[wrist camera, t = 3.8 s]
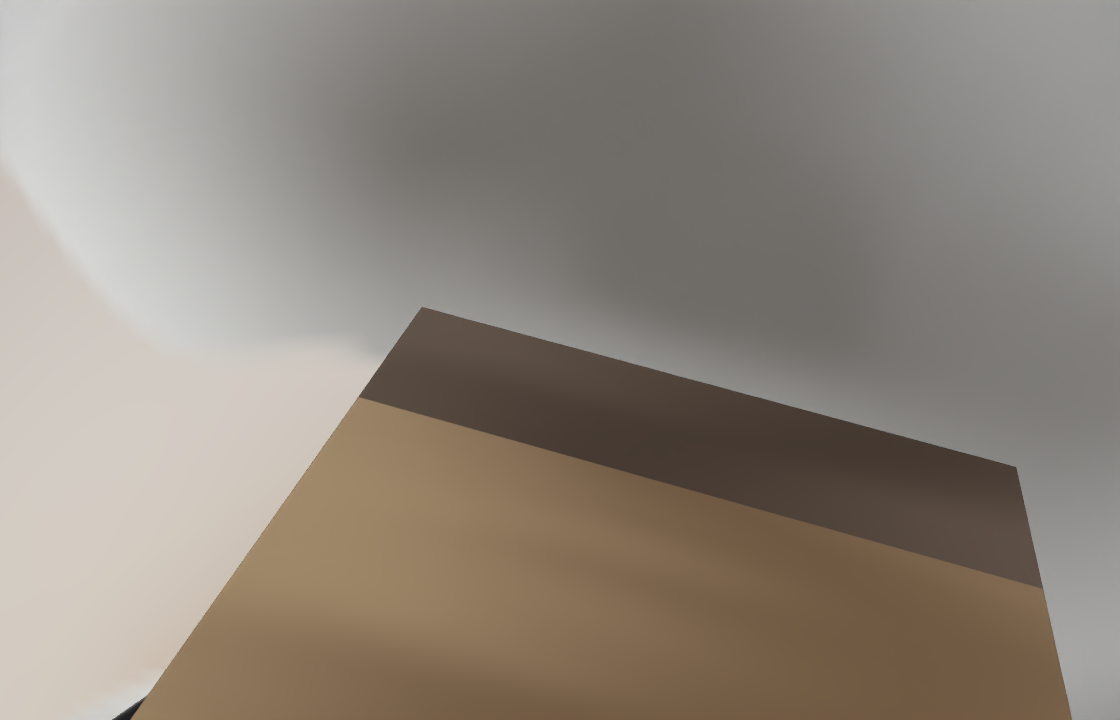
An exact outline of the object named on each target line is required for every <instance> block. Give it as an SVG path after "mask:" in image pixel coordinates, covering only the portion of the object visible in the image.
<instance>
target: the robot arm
mask: <svg viewBox="0 0 1120 720" xmlns="http://www.w3.org/2000/svg"><path fill="white" fill-rule="evenodd" d="M147 696H148V695H147ZM147 696H146V697H147ZM146 697H144V698H143V699H141V700H140V701H139V702H137V703H136V704H134V705H133V706H131V707H130V708H128V709H127V710H126V711H124V712H123V713H121V714H120V715H118V716H117V717H115V718H114V719H113V720H131V718H132V717H133V715H134V714H135V713H136V711H137V710H138V708H139V707H140V706H141V704H142V703H143V701H144V700H145V698H146Z"/></svg>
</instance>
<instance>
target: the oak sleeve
mask: <svg viewBox="0 0 1120 720" xmlns="http://www.w3.org/2000/svg"><path fill="white" fill-rule="evenodd" d="M131 720H1072V718H1071V713H1070V709H1069V704H1068V700H1067V695H1066V690H1065V686H1064V681H1063V677H1062V672H1061V668H1060V663H1059V659H1058V654H1057V650H1056V645H1055V641H1054V636H1053V632H1052V627H1051V623H1050V618H1049V614H1048V609H1047V605H1046V600H1045V596H1044V591H1043V587H1042V582H1041V578H1040V573H1039V569H1038V564H1037V560H1036V555H1035V551H1034V546H1033V542H1032V537H1031V533H1030V528H1029V523H1028V519H1027V514H1026V510H1025V505H1024V501H1023V496H1022V492H1021V487H1020V483H1019V478H1018V474H1017V469H1016V467H1014V466H1010V465H1006V464H1003V463H999V462H995V461H991V460H988V459H984V458H980V457H977V456H973V455H969V454H965V453H962V452H958V451H954V450H951V449H947V448H943V447H939V446H936V445H932V444H928V443H925V442H921V441H917V440H913V439H910V438H906V437H902V436H899V435H895V434H891V433H887V432H884V431H880V430H876V429H873V428H869V427H865V426H861V425H858V424H854V423H850V422H847V421H843V420H839V419H835V418H832V417H828V416H824V415H821V414H817V413H813V412H809V411H806V410H802V409H798V408H795V407H791V406H787V405H783V404H780V403H776V402H772V401H769V400H765V399H761V398H757V397H754V396H750V395H746V394H743V393H739V392H735V391H731V390H728V389H724V388H720V387H717V386H713V385H709V384H705V383H702V382H698V381H694V380H691V379H687V378H683V377H679V376H676V375H672V374H668V373H665V372H661V371H657V370H653V369H650V368H646V367H642V366H639V365H635V364H631V363H627V362H624V361H620V360H616V359H613V358H609V357H605V356H601V355H598V354H594V353H590V352H587V351H583V350H579V349H575V348H572V347H568V346H564V345H561V344H557V343H553V342H549V341H546V340H542V339H538V338H535V337H531V336H527V335H523V334H520V333H516V332H512V331H509V330H505V329H501V328H497V327H494V326H490V325H486V324H483V323H479V322H475V321H471V320H468V319H464V318H460V317H457V316H453V315H449V314H445V313H442V312H438V311H434V310H431V309H427V308H423V307H422V308H421V309H420V310H419V312H418V313H417V315H416V316H415V318H414V319H413V320H412V322H411V323H410V325H409V326H408V327H407V329H406V330H405V332H404V333H403V334H402V336H401V337H400V339H399V340H398V342H397V343H396V344H395V346H394V347H393V349H392V350H391V351H390V353H389V354H388V356H387V357H386V359H385V360H384V361H383V363H382V364H381V366H380V367H379V368H378V370H377V371H376V373H375V374H374V376H373V377H372V378H371V380H370V382H369V383H368V384H367V386H366V387H365V389H364V390H363V391H362V393H361V394H360V395H359V397H358V398H357V400H356V401H355V403H354V404H353V406H352V407H351V408H350V410H349V411H348V413H347V414H346V415H345V417H344V418H343V419H342V421H341V422H340V424H339V425H338V427H337V428H336V430H335V431H334V432H333V434H332V435H331V436H330V438H329V439H328V441H327V442H326V444H325V445H324V446H323V448H322V449H321V451H320V452H319V453H318V455H317V456H316V458H315V459H314V461H313V462H312V463H311V465H310V466H309V468H308V469H307V470H306V472H305V473H304V475H303V476H302V478H301V479H300V480H299V482H298V483H297V485H296V486H295V487H294V489H293V490H292V492H291V493H290V495H289V496H288V497H287V499H286V500H285V502H284V503H283V504H282V506H281V507H280V509H279V510H278V512H277V513H276V514H275V516H274V517H273V519H272V520H271V521H270V523H269V524H268V526H267V527H266V529H265V530H264V531H263V533H262V534H261V536H260V537H259V538H258V540H257V541H256V543H255V544H254V546H253V547H252V548H251V550H250V551H249V553H248V554H247V556H246V557H245V559H244V560H243V561H242V563H241V564H240V565H239V567H238V568H237V570H236V571H235V572H234V574H233V575H232V577H231V578H230V580H229V581H228V582H227V584H226V585H225V587H224V588H223V589H222V591H221V592H220V594H219V595H218V597H217V598H216V599H215V601H214V602H213V604H212V605H211V606H210V608H209V609H208V611H207V612H206V613H205V615H204V616H203V618H202V619H201V621H200V622H199V623H198V625H197V626H196V628H195V629H194V631H193V632H192V634H191V635H190V636H189V638H188V639H187V640H186V642H185V643H184V645H183V646H182V647H181V649H180V650H179V652H178V653H177V655H176V656H175V657H174V659H173V660H172V662H171V663H170V665H169V666H168V667H167V669H166V670H165V672H164V673H163V674H162V676H161V677H160V679H159V680H158V681H157V683H156V684H155V686H154V687H153V689H152V690H151V691H150V693H149V694H148V696H147V697H146V698H145V700H144V701H143V703H142V704H141V706H140V707H139V708H138V710H137V711H136V713H135V714H134V715H133V717H132V718H131Z"/></svg>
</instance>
